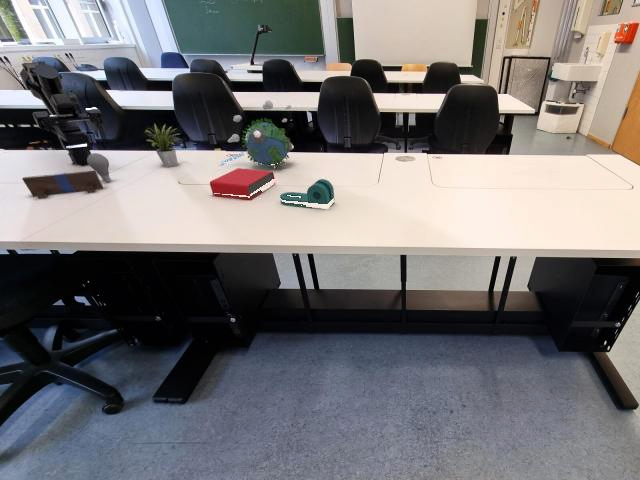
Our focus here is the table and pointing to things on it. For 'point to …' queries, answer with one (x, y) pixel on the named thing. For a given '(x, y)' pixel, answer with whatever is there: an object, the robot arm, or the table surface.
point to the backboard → (63, 183)
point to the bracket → (311, 194)
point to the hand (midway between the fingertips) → (83, 138)
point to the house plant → (164, 146)
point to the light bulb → (99, 165)
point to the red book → (241, 183)
